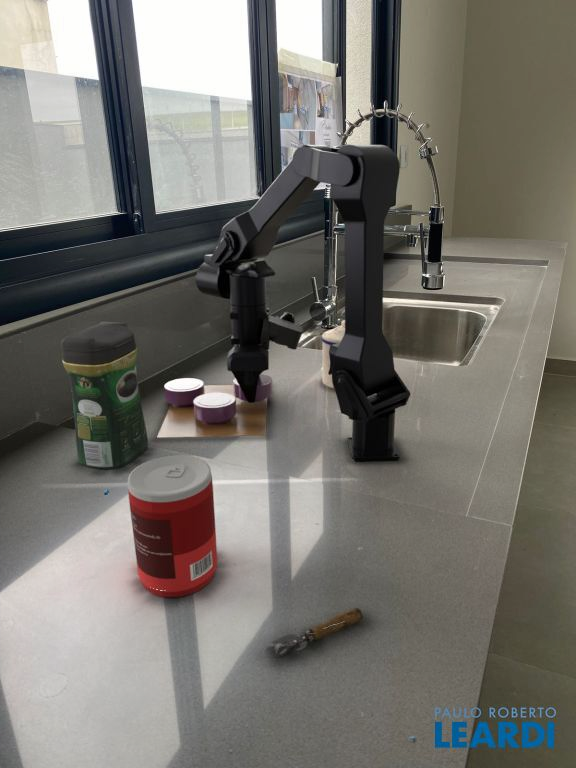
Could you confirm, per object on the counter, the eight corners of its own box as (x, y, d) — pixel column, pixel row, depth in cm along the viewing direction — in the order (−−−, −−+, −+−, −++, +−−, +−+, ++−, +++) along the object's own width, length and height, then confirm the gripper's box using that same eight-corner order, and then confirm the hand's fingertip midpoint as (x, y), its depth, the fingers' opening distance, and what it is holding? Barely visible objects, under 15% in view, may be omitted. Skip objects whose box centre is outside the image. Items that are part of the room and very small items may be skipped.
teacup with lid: (359, 395, 104) (361, 329, 100) (312, 387, 109) (312, 324, 105) (383, 374, 114) (386, 314, 110) (339, 368, 118) (340, 309, 114)
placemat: (265, 437, 89) (265, 435, 89) (156, 440, 89) (156, 437, 88) (267, 386, 109) (267, 384, 109) (179, 388, 109) (179, 385, 109)
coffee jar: (110, 438, 89) (94, 315, 83) (156, 445, 87) (144, 319, 81) (67, 468, 81) (46, 333, 74) (118, 476, 78) (100, 338, 72)
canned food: (220, 547, 63) (214, 453, 60) (214, 598, 56) (207, 494, 52) (147, 549, 63) (136, 455, 59) (131, 601, 56) (118, 497, 52)
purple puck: (274, 402, 99) (274, 385, 98) (234, 405, 98) (233, 387, 97) (271, 388, 105) (270, 372, 104) (233, 391, 104) (232, 374, 103)
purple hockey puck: (202, 408, 99) (201, 390, 98) (162, 409, 99) (160, 391, 98) (207, 393, 105) (206, 377, 104) (169, 394, 105) (167, 378, 104)
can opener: (356, 614, 53) (357, 604, 53) (370, 632, 51) (370, 621, 51) (261, 646, 50) (261, 635, 50) (272, 666, 48) (271, 655, 48)
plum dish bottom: (235, 425, 92) (234, 407, 91) (192, 426, 92) (190, 408, 91) (237, 409, 98) (236, 391, 97) (197, 410, 98) (195, 392, 97)
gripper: (301, 315, 87) (302, 415, 93) (297, 290, 105) (298, 375, 110) (224, 317, 87) (229, 416, 93) (233, 292, 105) (237, 376, 110)
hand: (252, 394), depth 101 cm, fingers closed on purple puck, 6 cm apart
